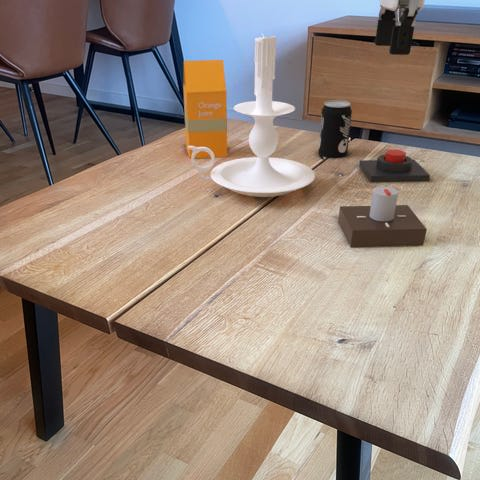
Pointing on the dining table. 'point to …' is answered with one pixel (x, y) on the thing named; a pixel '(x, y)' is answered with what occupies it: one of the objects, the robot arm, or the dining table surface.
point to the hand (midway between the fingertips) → (391, 49)
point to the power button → (395, 156)
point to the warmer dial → (383, 203)
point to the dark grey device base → (393, 170)
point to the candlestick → (260, 140)
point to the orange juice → (205, 107)
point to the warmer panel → (381, 228)
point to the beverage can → (334, 129)
